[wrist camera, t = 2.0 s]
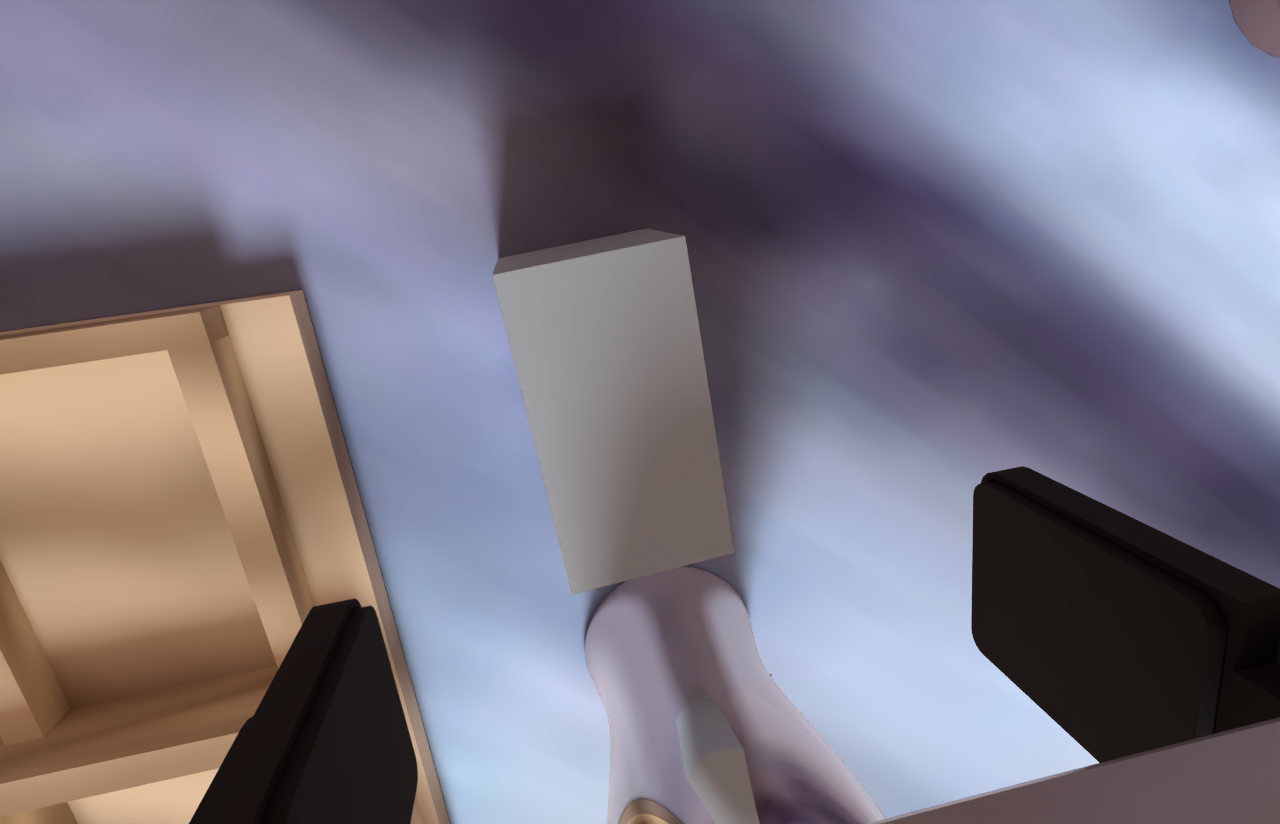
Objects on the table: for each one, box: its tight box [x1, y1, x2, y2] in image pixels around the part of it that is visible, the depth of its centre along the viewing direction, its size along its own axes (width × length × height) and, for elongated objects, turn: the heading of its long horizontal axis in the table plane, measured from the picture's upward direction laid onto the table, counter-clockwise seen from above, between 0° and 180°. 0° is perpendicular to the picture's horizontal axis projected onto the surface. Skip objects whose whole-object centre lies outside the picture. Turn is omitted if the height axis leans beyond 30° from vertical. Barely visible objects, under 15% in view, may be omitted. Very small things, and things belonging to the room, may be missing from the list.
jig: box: [0, 290, 450, 824], centre depth 20 cm, size 22×12×4 cm, turn 7°
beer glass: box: [585, 566, 886, 824], centre depth 18 cm, size 7×7×15 cm
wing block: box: [493, 228, 734, 595], centre depth 19 cm, size 8×4×5 cm, turn 10°
